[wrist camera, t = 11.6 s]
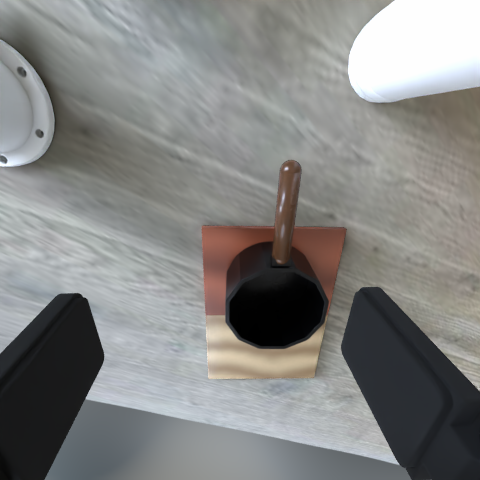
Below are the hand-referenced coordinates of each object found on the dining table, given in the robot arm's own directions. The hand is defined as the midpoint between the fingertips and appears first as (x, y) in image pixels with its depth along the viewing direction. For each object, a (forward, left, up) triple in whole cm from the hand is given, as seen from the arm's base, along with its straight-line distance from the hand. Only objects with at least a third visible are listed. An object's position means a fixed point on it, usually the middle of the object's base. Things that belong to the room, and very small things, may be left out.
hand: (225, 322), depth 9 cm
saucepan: (+8, +6, -23) cm, 25 cm away
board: (+20, +6, -24) cm, 31 cm away
